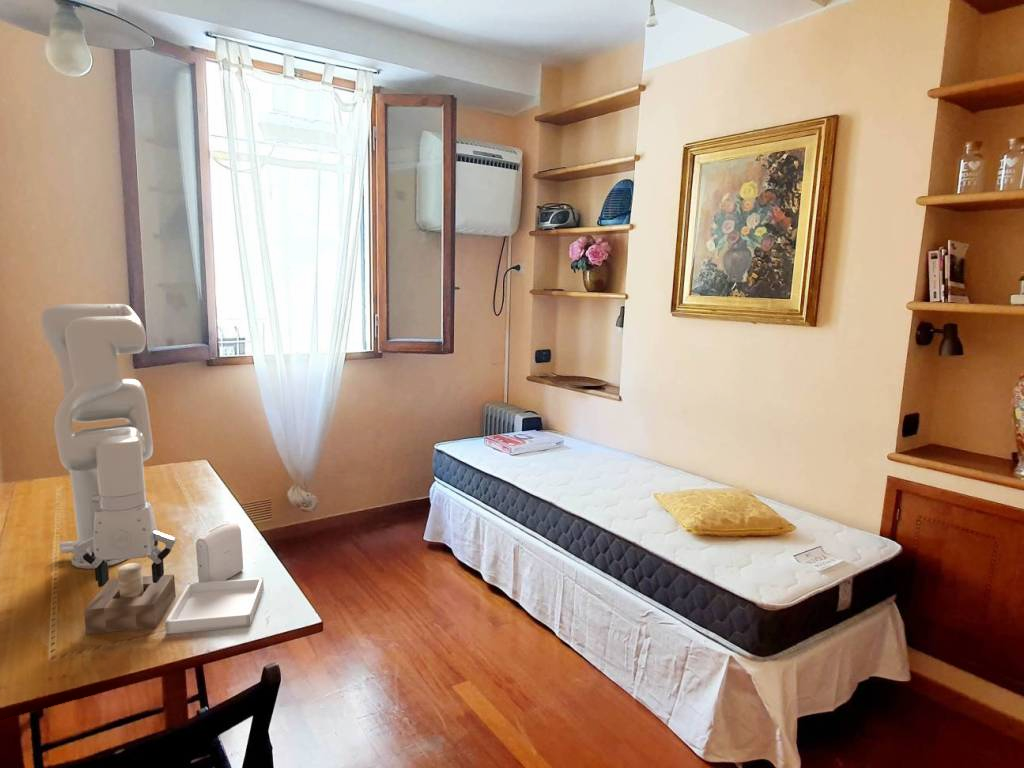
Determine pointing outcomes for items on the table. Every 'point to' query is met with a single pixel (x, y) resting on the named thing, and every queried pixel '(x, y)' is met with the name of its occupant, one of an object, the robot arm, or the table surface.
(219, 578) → the photo printer
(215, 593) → the tray
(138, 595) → the dowel
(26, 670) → the table surface
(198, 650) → the table surface
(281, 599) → the table surface
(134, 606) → the holder
